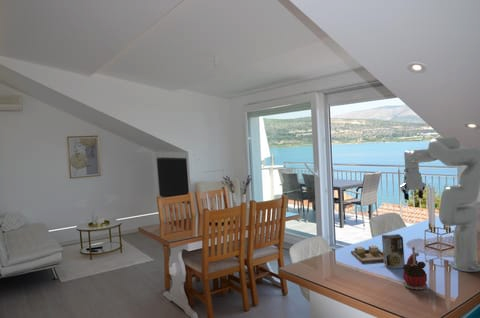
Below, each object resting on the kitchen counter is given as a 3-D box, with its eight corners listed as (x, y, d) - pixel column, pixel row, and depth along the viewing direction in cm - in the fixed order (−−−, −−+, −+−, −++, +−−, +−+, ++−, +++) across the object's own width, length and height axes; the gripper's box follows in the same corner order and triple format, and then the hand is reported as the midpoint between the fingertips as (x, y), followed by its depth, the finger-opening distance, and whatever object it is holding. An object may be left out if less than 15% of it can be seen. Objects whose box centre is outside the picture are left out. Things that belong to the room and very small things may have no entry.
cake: (412, 292, 158) (410, 251, 158) (398, 284, 167) (396, 246, 167) (433, 288, 161) (431, 248, 160) (418, 281, 170) (416, 243, 169)
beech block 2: (378, 254, 208) (378, 247, 208) (371, 254, 208) (371, 248, 208) (375, 252, 212) (375, 245, 212) (369, 252, 212) (368, 246, 212)
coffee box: (400, 263, 193) (399, 233, 193) (405, 268, 187) (403, 237, 186) (383, 264, 194) (381, 234, 194) (386, 268, 188) (385, 238, 187)
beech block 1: (365, 255, 208) (364, 248, 208) (359, 256, 207) (358, 249, 207) (361, 253, 212) (360, 246, 212) (355, 254, 211) (354, 247, 211)
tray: (391, 262, 196) (391, 258, 196) (362, 265, 195) (362, 260, 195) (378, 252, 214) (378, 248, 214) (351, 255, 213) (351, 250, 213)
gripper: (403, 172, 213) (405, 201, 214) (429, 169, 217) (430, 198, 217) (395, 171, 220) (397, 199, 221) (420, 169, 224) (421, 196, 225)
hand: (413, 198), depth 219 cm, fingers open, 9 cm apart
